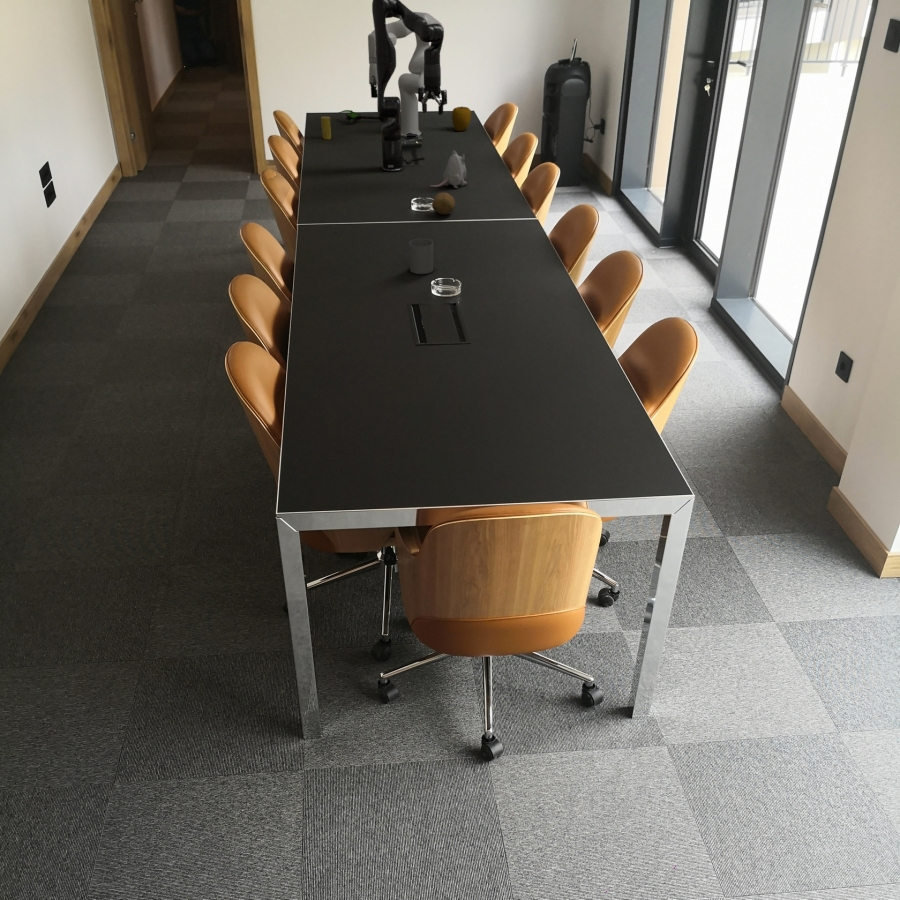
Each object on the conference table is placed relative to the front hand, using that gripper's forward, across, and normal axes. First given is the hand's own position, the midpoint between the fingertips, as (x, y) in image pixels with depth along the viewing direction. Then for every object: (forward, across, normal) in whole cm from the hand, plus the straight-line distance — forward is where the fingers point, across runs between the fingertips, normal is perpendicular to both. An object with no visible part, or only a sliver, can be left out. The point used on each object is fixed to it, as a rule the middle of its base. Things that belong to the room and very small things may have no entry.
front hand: (432, 113), depth 387 cm
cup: (+31, -62, +94) cm, 117 cm away
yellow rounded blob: (+29, +47, -94) cm, 109 cm away
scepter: (+29, +107, -79) cm, 136 cm away
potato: (+31, -31, +37) cm, 57 cm away
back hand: (+5, +65, -42) cm, 78 cm away
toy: (+30, -12, +5) cm, 33 cm away
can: (+29, +98, -36) cm, 108 cm away
